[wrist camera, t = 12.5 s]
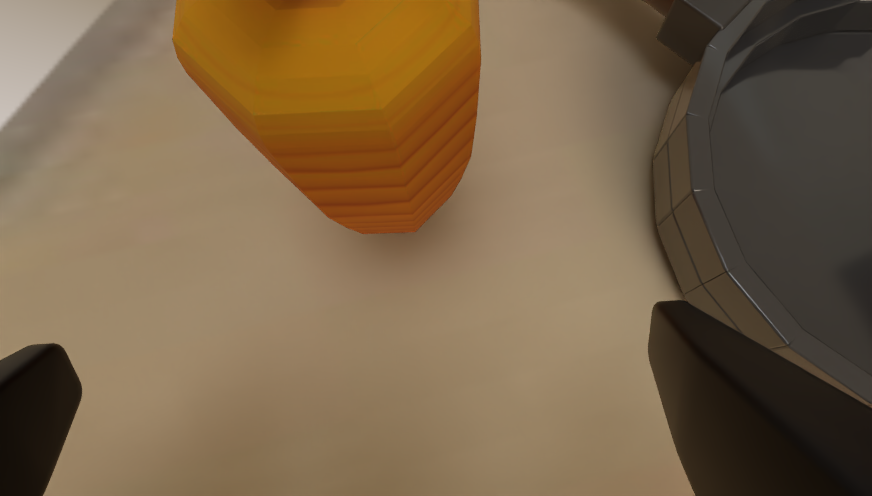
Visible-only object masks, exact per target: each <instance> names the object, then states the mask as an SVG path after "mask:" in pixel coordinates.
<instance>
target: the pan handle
mask: <svg viewBox="0 0 872 496" xmlns="http://www.w3.org/2000/svg"><path fill="white" fill-rule="evenodd" d="M643 1H644V2H645V3H647V4H648V5H650V6H651V7H652V8H654V9H655V10H656V11H658V12H659V13H661V14H662V15H663V16H665V17H666V18H665V20H664V22H663V24H662V26H661V28H660V30H659V32H658V34H657V36H656V38H657V40H658V41H660V42H661V43H663V44H664V45H665V46H667V47H668V48H669V49H671V50H672V51H673V52H675V53H676V54H677V55H679V56H680V57H681V58H683V59H684V60H685V61H687V62H688V63H690V64H691V65H692V66H693V65H694V64H695V62H696V61H697V59H698V58H699V56H700V54H701V53H702V51H703V50H704V48H705V47H706V45H707V44H708V42H709V41H710V40H711V38H712V37H713V36H714V35H715V33H716V32H717V31H718V30H724V29H725V28H726V27H727V26H728V25H729V24H730V23H731V22H732V21H733V20H734V19H735V18H736V17H737V16H738V15H739V13H740V12H741V11H742V10H743V9H744V8H745V7H746V6H747V5H748V4H749V3H750V2H751V1H752V0H643Z"/></svg>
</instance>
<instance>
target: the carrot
mask: <svg viewBox="0 0 872 496" xmlns="http://www.w3.org/2000/svg"><path fill="white" fill-rule="evenodd" d="M172 40H173V44H174V47H175V51H176V54H177V58H178V60H179V61H180V63H181V64H182V66H183V68H184V69H185V71H186V72H187V74H188V75H189V76H190V77H191V78H192V79H193V80H194V82H195V83H196V84H197V85H198V86H199V87H200V88H201V89H202V90H203V92H204V93H205V94H206V95H207V96H208V97H209V98H210V99H211V100H212V102H213V103H214V104H215V105H216V106H217V107H218V108H219V109H220V110H221V111H222V113H223V114H224V115H225V116H226V117H227V118H228V119H229V120H230V121H231V123H232V124H233V125H234V126H235V127H236V128H237V129H238V130H239V131H240V132H241V133H242V134H243V135H244V136H245V137H246V138H247V139H248V140H249V141H250V142H251V143H252V144H253V145H254V146H255V147H256V148H257V149H258V150H259V151H260V152H261V153H262V154H263V155H264V156H265V157H266V158H267V159H268V160H269V161H270V162H271V163H272V164H273V165H274V166H275V167H276V168H277V169H278V170H279V171H280V172H281V173H282V174H283V175H284V176H285V177H286V178H287V179H288V180H290V181H291V182H292V183H293V184H294V185H295V186H296V187H297V188H298V189H299V190H300V191H301V192H302V193H303V194H304V195H305V196H306V197H307V198H308V199H309V200H311V201H312V202H313V203H314V204H315V205H316V206H317V207H318V208H319V209H320V210H321V211H322V212H323V213H324V214H325V215H326V216H327V217H328V218H330V219H332V220H334V221H336V222H337V223H339V224H341V225H343V226H345V227H347V228H349V229H352V230H354V231H357V232H359V233H362V234H374V233H403V232H416V231H417V230H418V229H419V228H420V227H421V226H422V225H423V224H424V223H425V222H426V221H427V220H428V219H429V217H430V216H431V215H432V214H433V213H434V212H435V211H436V210H437V209H438V208H439V207H440V206H441V205H442V204H443V203H444V202H445V201H446V200H447V199H448V198H449V197H450V196H451V195H452V193H453V192H454V190H455V188H456V187H457V185H458V183H459V182H460V180H461V178H462V176H463V173H464V171H465V169H466V167H467V164H468V162H469V160H470V157H471V153H472V146H473V139H474V132H475V125H476V117H477V105H478V92H479V79H480V66H481V48H480V25H479V2H478V0H177V2H176V11H175V20H174V29H173V38H172Z"/></svg>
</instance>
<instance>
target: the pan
mask: <svg viewBox="0 0 872 496" xmlns="http://www.w3.org/2000/svg"><path fill="white" fill-rule="evenodd" d="M653 178H654V196H655V214H656V225H657V226H658V227H657V230H658V233H659V235H660V238H661V240H662V243H663V245H664V248H665V250H666V253H667V255H668V258H669V260H670V263H671V265H672V268H673V270H674V273H675V275H676V278H677V280H678V283H679V285H680V288H681V290H682V292H683V294H684V297H685V298H686V300H687V301H688V302H689V303H690V304H691V305H693V306H695V307H696V308H698V309H700V310H702V311H703V312H705V313H707V314H709V315H710V316H712V317H714V318H716V319H717V320H719V321H721V322H723V323H724V324H726V325H728V326H730V327H731V328H733V329H735V330H737V331H738V332H740V333H742V334H744V335H745V336H747V337H749V338H751V339H752V340H754V341H756V342H758V343H759V344H761V345H763V346H765V347H766V348H768V349H770V350H771V351H773V352H775V353H777V354H778V355H780V356H782V357H784V358H785V359H787V360H789V361H791V362H792V363H794V364H796V365H798V366H799V367H801V368H803V369H805V370H806V371H808V372H810V373H812V374H813V375H815V376H817V377H819V378H820V379H822V380H824V381H826V382H827V383H829V384H831V385H833V386H834V387H836V388H838V389H840V390H841V391H843V392H845V393H846V394H848V395H850V396H852V397H853V398H855V399H857V400H859V401H860V402H862V403H864V404H866V405H867V406H869V407H871V408H872V0H752V1H751V2H750V3H749V4H748V5H747V6H746V7H745V8H744V9H743V10H742V11H741V12H740V13H739V15H738V16H737V17H736V18H735V19H734V20H733V21H732V22H731V23H730V24H729V25H728V26H727V27H726V28H725V29H724V30H718V31H717V32H716V33H715V35H714V36H713V37H712V38H711V40H710V41H709V42H708V44H707V45H706V47H705V48H704V50H703V51H702V53H701V54H700V56H699V58H698V59H697V61H696V62H695V64H694V65H693V67H692V68H691V70H690V72H689V73H688V75H687V76H686V78H685V79H684V81H683V82H682V84H681V86H680V87H679V89H678V90H677V92H676V93H675V95H674V96H673V98H672V100H671V102H670V104H669V107H668V111H667V114H666V117H665V120H664V124H663V127H662V130H661V134H660V137H659V140H658V143H657V147H656V150H655V153H654V156H653Z"/></svg>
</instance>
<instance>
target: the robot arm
mask: <svg viewBox="0 0 872 496" xmlns="http://www.w3.org/2000/svg"><path fill="white" fill-rule="evenodd" d="M648 354H649V361H650V364H651V368H652V371H653V374H654V378H655V381H656V385H657V388H658V391H659V395H660V398H661V401H662V405H663V408H664V411H665V415H666V418H667V421H668V425H669V428H670V431H671V435H672V438H673V441H674V444H675V447H676V450H677V453H678V456H679V458H680V461H681V463H682V466H683V468H684V470H685V473H686V475H687V477H688V480H689V482H690V484H691V486H692V489H693V491H694V493H695V496H872V408H871V407H869V406H867V405H866V404H864V403H862V402H860V401H859V400H857V399H855V398H853V397H852V396H850V395H848V394H846V393H845V392H843V391H841V390H840V389H838V388H836V387H834V386H833V385H831V384H829V383H827V382H826V381H824V380H822V379H820V378H819V377H817V376H815V375H813V374H812V373H810V372H808V371H806V370H805V369H803V368H801V367H799V366H798V365H796V364H794V363H792V362H791V361H789V360H787V359H785V358H784V357H782V356H780V355H778V354H777V353H775V352H773V351H771V350H770V349H768V348H766V347H765V346H763V345H761V344H759V343H758V342H756V341H754V340H752V339H751V338H749V337H747V336H745V335H744V334H742V333H740V332H738V331H737V330H735V329H733V328H731V327H730V326H728V325H726V324H724V323H723V322H721V321H719V320H717V319H716V318H714V317H712V316H710V315H709V314H707V313H705V312H703V311H702V310H700V309H698V308H696V307H695V306H693V305H691V304H689V303H688V302H686V301H683V300H676V301H662V302H657V303H656V304H655V305H654V307H653V310H652V316H651V325H650V334H649V343H648ZM81 397H82V386H81V382H80V380H79V378H78V376H77V374H76V372H75V370H74V368H73V366H72V364H71V362H70V360H69V357H68V355H67V353H66V351H65V350H64V348H63V347H61V346H60V345H58V344H55V343H51V344H37V345H30V346H27V347H25V348H23V349H21V350H19V351H17V352H15V353H13V354H12V355H10V356H8V357H6V358H4V359H2V360H0V496H43V494H44V492H45V490H46V488H47V485H48V483H49V481H50V478H51V476H52V473H53V471H54V468H55V466H56V463H57V460H58V458H59V455H60V453H61V450H62V447H63V445H64V442H65V440H66V437H67V435H68V432H69V429H70V427H71V424H72V422H73V419H74V416H75V414H76V411H77V409H78V406H79V404H80V401H81Z"/></svg>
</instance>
